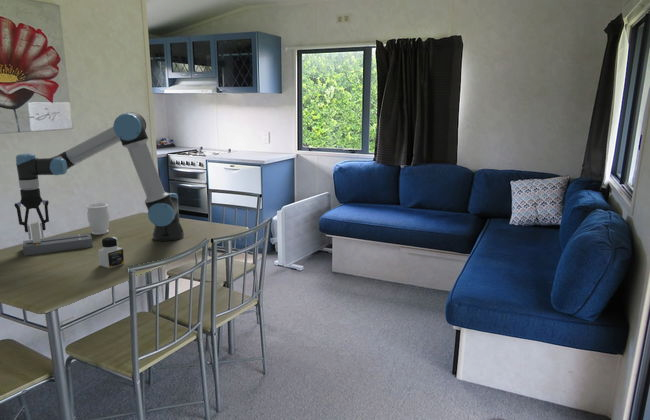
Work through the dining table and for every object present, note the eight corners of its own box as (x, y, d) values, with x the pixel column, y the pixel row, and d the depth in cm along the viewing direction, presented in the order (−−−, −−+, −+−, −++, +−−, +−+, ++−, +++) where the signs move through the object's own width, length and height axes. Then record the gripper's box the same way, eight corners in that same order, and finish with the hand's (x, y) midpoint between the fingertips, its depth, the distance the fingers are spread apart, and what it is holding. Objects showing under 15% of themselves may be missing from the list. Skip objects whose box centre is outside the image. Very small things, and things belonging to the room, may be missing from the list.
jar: (102, 236, 243) (99, 207, 239) (84, 234, 245) (81, 206, 241) (115, 230, 253) (112, 203, 249) (98, 229, 255) (95, 202, 251)
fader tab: (41, 243, 222) (38, 220, 219) (41, 247, 216) (38, 223, 214) (33, 244, 220) (30, 221, 217) (33, 248, 215) (30, 224, 212)
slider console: (90, 240, 235) (89, 232, 234) (92, 246, 225) (91, 238, 224) (24, 249, 221) (23, 240, 220) (23, 255, 211) (22, 246, 210)
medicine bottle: (109, 268, 197) (106, 241, 194) (99, 265, 200) (96, 238, 198) (124, 263, 203) (122, 237, 200) (114, 260, 206) (111, 234, 204)
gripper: (51, 185, 219) (57, 233, 225) (7, 188, 211) (14, 238, 216) (52, 188, 213) (58, 237, 219) (6, 191, 205) (13, 242, 210)
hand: (36, 237), depth 217 cm, fingers open, 4 cm apart
